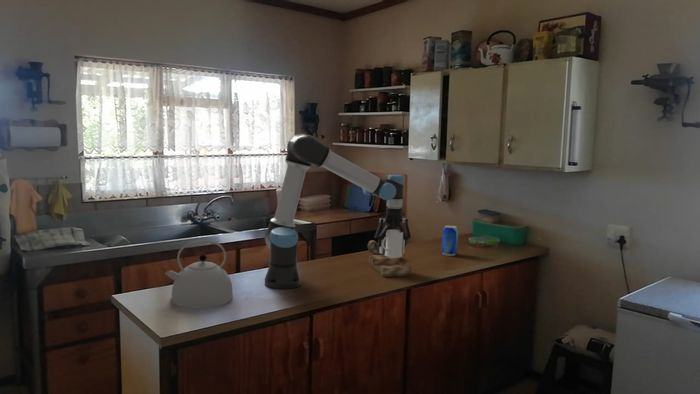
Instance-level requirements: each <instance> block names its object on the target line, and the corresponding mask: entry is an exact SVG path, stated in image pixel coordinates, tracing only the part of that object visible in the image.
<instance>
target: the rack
mask: <svg viewBox="0 0 700 394" xmlns="http://www.w3.org/2000/svg"><path fill="white" fill-rule="evenodd" d="M368 264H369V265H370V266H371V268H373V269H374V270H375V271H376V272H377V273H378V274H379V275H380V276H381V277H382V276H383V277H386V276H387V277H411V276H412V266H410V265H408V266H407V265H405V266H402V265H401V264H400V257H399V258H392V257H387V256H385V255H379V256H375V255H369V259H368Z"/></svg>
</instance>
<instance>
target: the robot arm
mask: <svg viewBox="0 0 700 394" xmlns="http://www.w3.org/2000/svg"><path fill="white" fill-rule="evenodd" d="M286 150H287V151H286V157H285V160H284V161H285V163H286V166H287V167H286V171H285V173H284V178H283V183H282V187H281V190H280V195H279V199H278V201H277V206H276V210H275V214H274V216H273V218H272V217H271V219H270V220H269V224H268V227H267V229H266V230H265V232H264V243H265V245H266V246H267V248H268V249H269V264H268V269H267V271H266V274H265V277H264V285H265V286H266V287H268V288H271V289H276V290H277V289H278V290H289V289H294V288H297V287H299V286H300V285H301V276H300V273H299V270H298V267H297V266H298V244H299V243H298V242H299V235H298V232H297V230H295V229H296V223H295V222H294V220H295V215H296V213H297V208H298V204H299V200H300V197H301V192H302V189H303V185H304V182H305V181H304V180H305V176H306V172H307V171H308V170H309V169H310V168H311V166H312V165H313V166H316V167H317V168H319V169H320V168H323V169H326V170H328V171H329V172H331V173H333V174H336V175H337V176H339V177H341V178H343V179H345V180H347V181H348V182H351V183H352V184H354V185H356V186H358V187H360V189H362V193H363V194H364V195H366V196H375V197H378V198H380V199H381V200H384V201H386V204H385V205H386V210H385V218H382V217H380V218H379V219H378V225H377V227H376V231H375V233H374V239H376V240H377V244H378V246H379V247H380V250H379V253H381V254H383V239H384V238H385V236H386V232H387V230H390V228H393V227H394V228H397V230H399V231H400V233H402V232H403V245H402V254H405V248H406V247H407V245H408V244H407V242H408V240H409V239H411V237H412V235H411V232H410V227H409V224H408V223H409V219H408V218H406V217H403V208H402V207H403V203H404V202H403V199H404V185H405V181H404V179H405V178H404V176H403V175H401V174H389V175H388V176H387V178H380V177H379V176H376V175H375V174H373V173H371V172H369V171H367V170H366V169H364V168H362V167H360V166H359V165H357V164H355V163H353V162H351V161H350V160H348V159H346V158H344V157H342V156H340V155H339V154H338V153H335V152H334V151H332V149H331V147H329V146H327V144H324V143H323V142H321V141H320V140H319V139H317V138H316V137H314V136H313V135H310V134H306V133H297V134H295V135H293V136H292V137H290V139H289V140H288V142H287V147H286ZM384 223H386V224H385V225H384ZM401 223H403V226H404V229H403V227H402V224H401ZM383 225H384V227H383ZM382 228H383V229H382Z"/></svg>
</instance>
